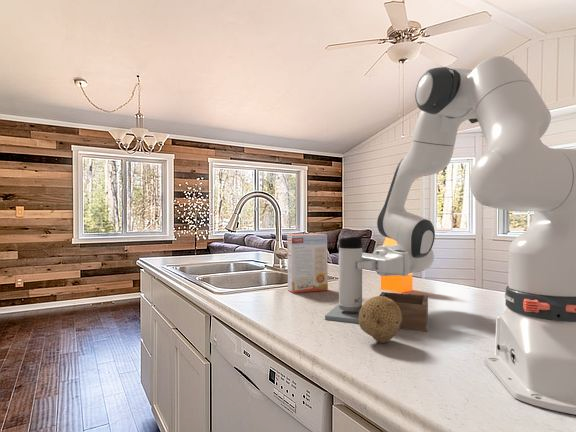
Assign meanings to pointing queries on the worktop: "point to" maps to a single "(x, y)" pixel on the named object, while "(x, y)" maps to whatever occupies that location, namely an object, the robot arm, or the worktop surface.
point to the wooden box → (411, 310)
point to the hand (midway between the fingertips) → (348, 263)
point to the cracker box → (307, 262)
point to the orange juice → (396, 277)
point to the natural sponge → (380, 318)
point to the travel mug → (350, 274)
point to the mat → (343, 315)
